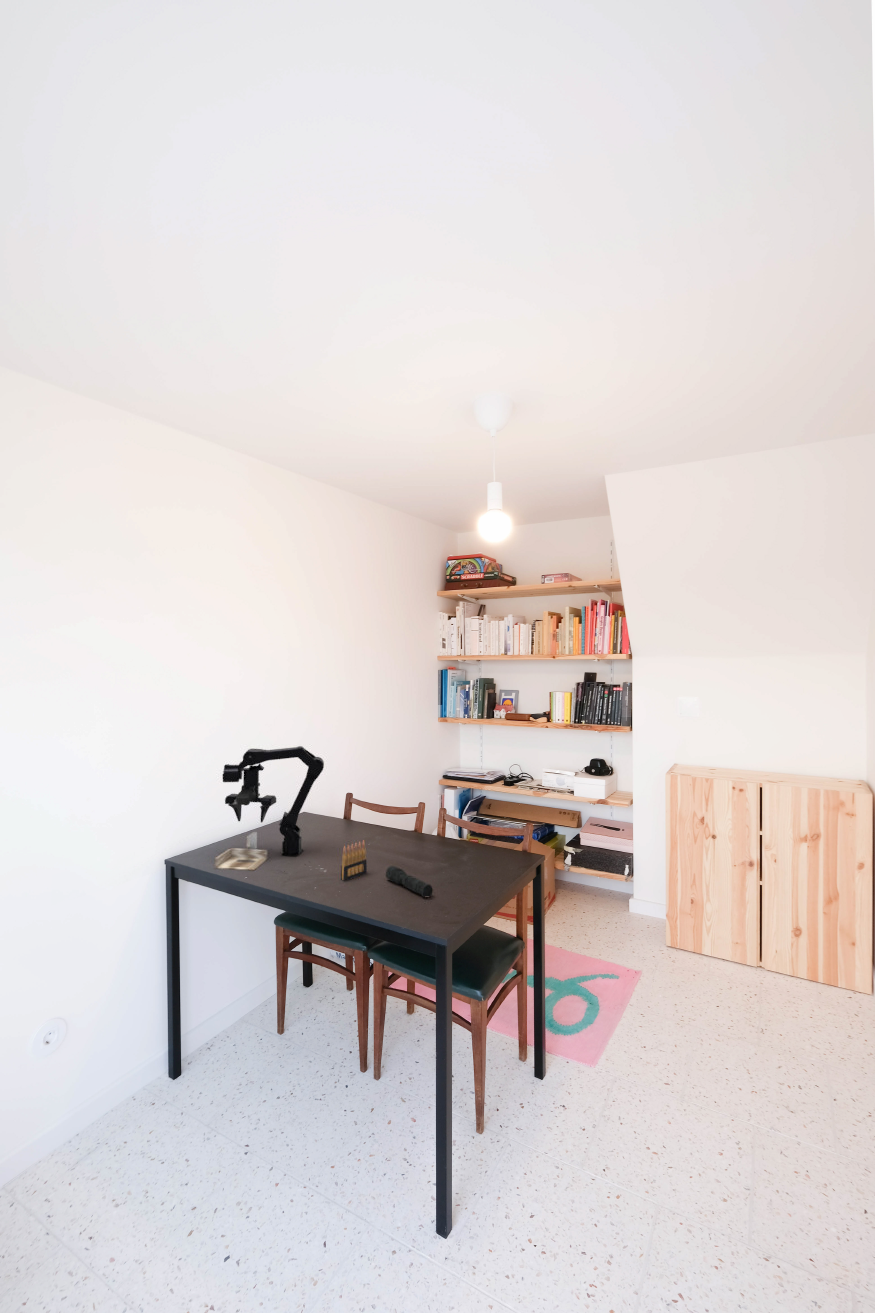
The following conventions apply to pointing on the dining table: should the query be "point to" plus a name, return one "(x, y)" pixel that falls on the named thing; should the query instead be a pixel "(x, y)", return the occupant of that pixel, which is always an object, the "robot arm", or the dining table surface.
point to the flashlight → (408, 881)
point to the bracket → (252, 841)
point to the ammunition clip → (353, 861)
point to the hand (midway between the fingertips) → (250, 821)
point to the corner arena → (241, 859)
